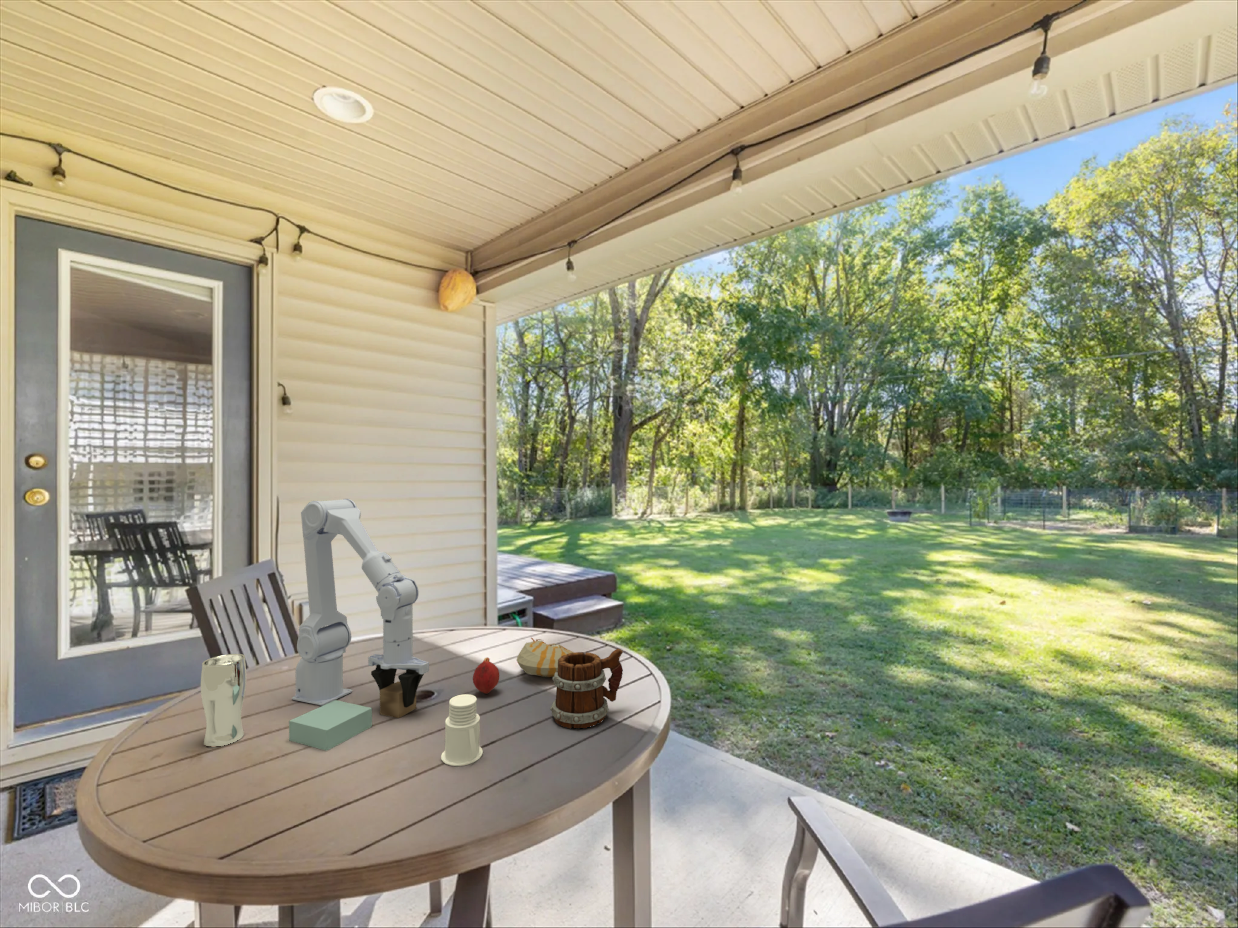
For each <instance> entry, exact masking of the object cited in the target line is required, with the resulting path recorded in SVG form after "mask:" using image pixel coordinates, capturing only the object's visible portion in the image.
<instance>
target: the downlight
mask: <svg viewBox="0 0 1238 928" xmlns="http://www.w3.org/2000/svg"><path fill="white" fill-rule="evenodd" d="M477 700H478V699H477V697H476V696H475V695H473V694H470V693H469V694H468V693H466V694H465V693H464V694H458V695H456V696H453V697H452V698H450V699H449V704H448V705H449V707H448V712H449V713H448V716H447V718H445V722H444V726H445V727H444V728H445V729H444V731H445V732H444V734H445V735H444V751H442V753H441V756H440V759H441V761H442V763H443V764H446V765H447V766H451V767H463V766H467V765H471V764H473V763H475V762H478V761H479V760H480V759H481V757H482V756H483V748H482V747H481V746H480V732H481V731H480V729H481V727H480V726H481V724H480V723H481V722H480V719H481V717H480V714H478V713H477Z"/></svg>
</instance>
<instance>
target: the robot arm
mask: <svg viewBox="0 0 1238 928" xmlns="http://www.w3.org/2000/svg"><path fill="white" fill-rule="evenodd" d="M361 515H362V511H361V509H359V507H358V506H357V503H355V501H354V500H352V499H350V498H343V499H329V500H311V501H309V502H308V503H306V505H305V506H304V508H303V509H302V510H301V512H300V517H301V528H302V538H303V547H304V548H303V549H304V560H305V571H306V572H305V573H306V584H307V598H308V608H309V609H308V610H309V615H308V617H306V619H305V620H304V621H303V622H302V623H300V625H299V626H298V639H297V642H296V643H297V644H296V650H297V653H298V655H299V656H300V658H301V659H299V661H298V662H297V665H296V667H295V695H294V696H292V697H291V699H292V700H293V701H297V702H298V701H299V702H303V703H307V704H308V703H309V704H313V705H316V706H317V705H318V706H323V705H326V704H328V703H330V702H332V701H335V700H338V699H340V698H342V697H344V696H347V695H348V694H350V693H352V692H353V690H352V689H350V688H344V654H345V653H347V652H346V651H347V650H346V649H347V648H348V647H349V646H350V644H351V642H352V632H351V628H350V627H349V624H348V618H347V617H348V616H346V615H345V614H344V613H342V612H340V611H339V610H338V607H337V595H336V583H335V571H334V560H333V558H334V557H333V549H332V542H333V540H334V539H335V538H336V537H337V536H338V535H341V536H342V537H344V539H345V540H346V541H347V542H348V544H349V546H351V548H352V549H353V550H354V551H355V553H356V554H357V555H358V556H359V557H360V558H361V560H362V564H361V570H362V572H363V573H364V574H365V576H366V578H367V579H368V580H369V582H370V583H371V584H372V586H373V587H374V589H375V590H376V591H377V596H376V597H375V598H376V600H375V601H376V603H377V604H376V605H377V606H378V608H379V609H380V617H381V619H382V621H383V623H382V626H383V627H382V629H383V631H382V637H383V638H382V639H383V640H382V643H383V645H382V648H383V652H382V653H383V654H381V653H380V654H379V653H374V654H371V655H369V656H368V657H367V663H368V664H367V666H368V667H373V666H375V669H373V670H372V671H371V672H370V675H371V677H372V679H374V681H375V683H376V685H377V687H378V689H379V691H380V690H381V689H383V688H385V687H387V686H389V685H392V684H394V683H395V680H396V673H397V670H402V671H405V672H403V673H401V674H399V675H398V676H397V678H398V680H399V682H400V683H401V687H402V692H403V704H404V707H406V708H407V707H409V706H411V705H412V704H413V703H414V699H415V695H416V696H417V691H418V688H419V685H420V682H421V681H422V678H423V676H424V675H425V674H426V673H429V672H430V662H429V661H426V660H422V659H420V658H418V657H415V656H414V655H413V652H414V651H413V648H414V647H413V646H414V645H413V642H414V641H413V634H414V633H413V632H414V631H413V626H414V625H413V624H414V622H413V620H414V619H413V615H414V614H413V613H414V612H413V604H415V603H416V602H417V601H418V598H419V593H420V591H419V587H418V585H417V583H416V581H415V580H414V579H413V578H411V577H407V576H406V575H405V574H402V573H401V571H400V570H399V569H398V567H397V565H395V564H396V563H394V561H393V560H392V557H391V556H390V555H389V554H388V553H387V552H385V551H379V550H378V548H377V546H376V545H375V544H374V543H375V542H373V540H372V538H371V536H370V535H369V533H368V531H367V530H366V528H365V526H364V524H363V523H362V521H361V517H362V516H361Z"/></svg>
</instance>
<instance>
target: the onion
mask: <svg viewBox="0 0 1238 928" xmlns="http://www.w3.org/2000/svg"><path fill="white" fill-rule="evenodd" d="M490 660H491V658H489V657H484V659H483V661H482V662H481V663H480V664H479V665H477V666H476V668H475V670H474V672H473V674H472V683H473V685H474V688H475V689H477V690H478V691H479V692H481V693H483V694H484V695H487V694H489V693H490V692H491V691H492V690H494V689H495V688H496V687H497V685H498V684H499V681H500V671H499V668H498V667H497V666H496V664H494V663H493V662H491V661H490Z"/></svg>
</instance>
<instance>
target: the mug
mask: <svg viewBox="0 0 1238 928" xmlns="http://www.w3.org/2000/svg"><path fill="white" fill-rule="evenodd" d="M622 655H623V650H622V649H620V648H616V649H614V650H613V651H611V653H609V655H608V656H606V657H605V658H601V657H600V656H599V655H598V654H595V653H593V652H587V651H586V652H585V653H584V651H577V652H574V653H569V654H567V655H563V656H561V657H560V658H559V659H558V670H557V671H556V673H555V675H554V677H552V681H553V684H554V685H555V686H556V693H555V699H554V701H553V702H552V704H551V706H550V707H549V711H551V716H553V720H554V719H555V720H554V722H555V723H556V725H558V724H559V725H558V726H560V725H561V727H562V726H563V727H562V728H565V727H567V728H566V729H570V728H571V729H572V728H573V729H574V728H585V729H588V728H587V727H590V726H593V725H596V724H597V723H600V722H601V721H602V720H604V721H605V719H606V717H607V713H608V712H609V709H610V708H609V704H608V701H610V702H613V703H614V701H616V699H617V692H618V690H619V688H620V685H621V682H622V680H623V675H624V674H623V672H624V669H623V665H622V663H621V662H620V657H621V656H622ZM605 669H609V670H610V674H611V675H610V677H609V678H608V679H607V677H606V673H605ZM606 680H607V682H608V688H607V687H606V686H604V685H605V684H604V683H605V682H606ZM607 699H608V700H607ZM605 716H606V717H605ZM604 718H605V719H604ZM601 723H602V722H601ZM601 723H600V724H601ZM597 725H598V724H597ZM597 725H596V726H597Z"/></svg>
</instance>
